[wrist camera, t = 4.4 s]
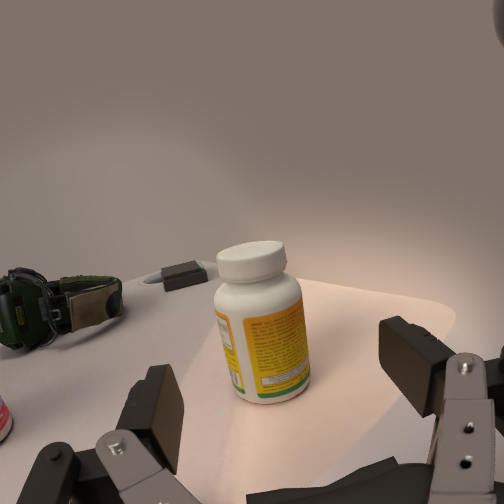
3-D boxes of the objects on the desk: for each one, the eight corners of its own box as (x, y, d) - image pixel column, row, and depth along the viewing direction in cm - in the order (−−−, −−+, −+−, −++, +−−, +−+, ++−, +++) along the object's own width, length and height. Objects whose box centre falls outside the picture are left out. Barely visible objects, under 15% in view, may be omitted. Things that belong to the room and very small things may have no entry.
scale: (200, 271, 53) (198, 259, 53) (208, 281, 47) (205, 267, 47) (163, 280, 51) (159, 268, 51) (165, 292, 45) (161, 277, 45)
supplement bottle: (219, 397, 20) (184, 263, 18) (258, 357, 24) (235, 239, 22) (292, 414, 17) (268, 262, 15) (322, 365, 22) (308, 235, 19)
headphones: (-19, 335, 20) (147, 298, 35) (-29, 237, 26) (109, 220, 40) (3, 384, 28) (127, 351, 42) (-15, 302, 33) (95, 281, 48)
